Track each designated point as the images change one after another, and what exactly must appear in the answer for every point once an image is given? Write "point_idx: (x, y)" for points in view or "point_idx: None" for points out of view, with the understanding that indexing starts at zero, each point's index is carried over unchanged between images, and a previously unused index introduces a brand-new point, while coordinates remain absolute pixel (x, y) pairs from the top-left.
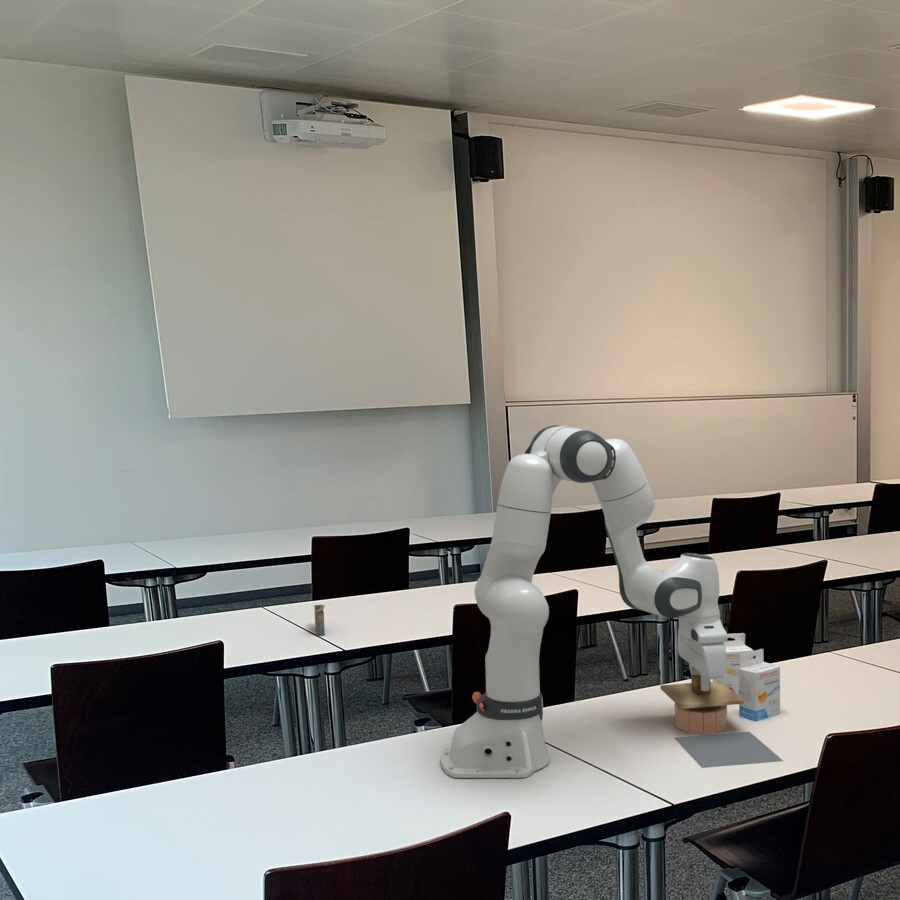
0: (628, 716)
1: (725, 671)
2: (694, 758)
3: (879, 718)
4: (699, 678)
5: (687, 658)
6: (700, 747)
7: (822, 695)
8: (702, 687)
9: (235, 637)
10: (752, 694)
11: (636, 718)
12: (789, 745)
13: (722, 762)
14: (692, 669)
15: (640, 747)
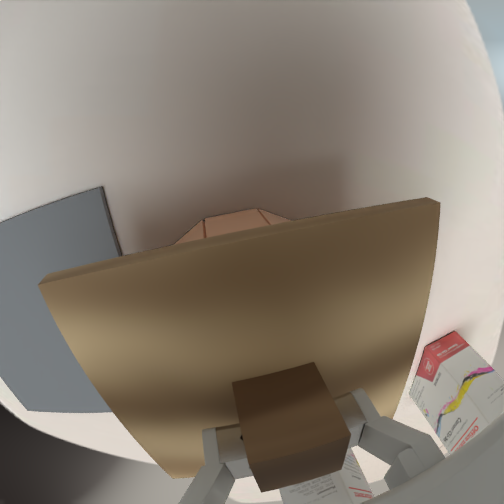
0: (373, 60)
1: (457, 398)
2: None
3: (264, 498)
4: (266, 471)
5: (442, 493)
6: (28, 272)
7: (369, 456)
8: (205, 446)
9: None
10: None
11: (353, 79)
12: (123, 438)
13: None
14: (398, 444)
15: (41, 65)
